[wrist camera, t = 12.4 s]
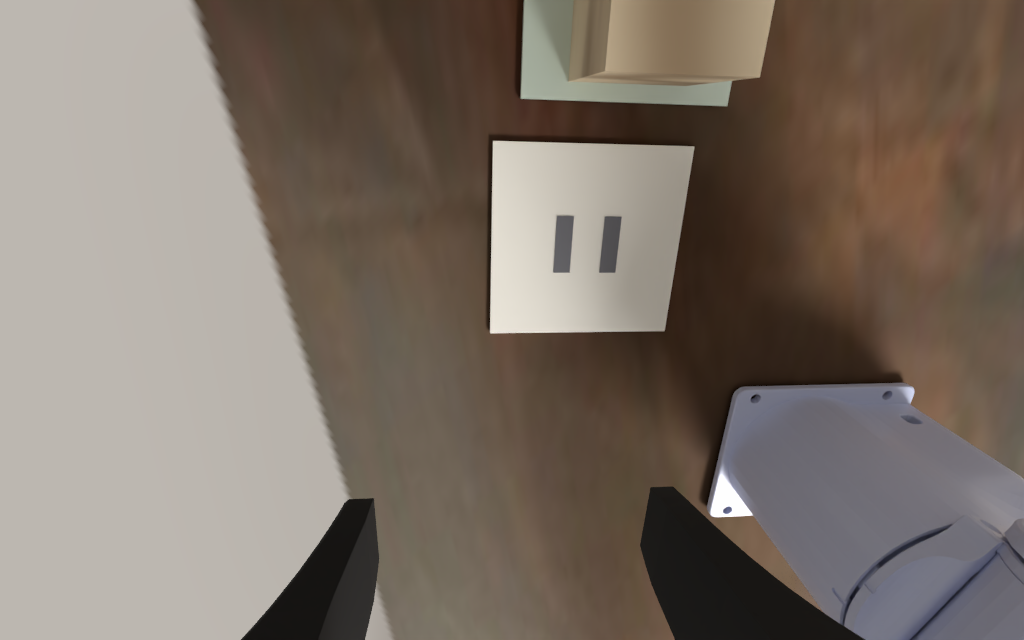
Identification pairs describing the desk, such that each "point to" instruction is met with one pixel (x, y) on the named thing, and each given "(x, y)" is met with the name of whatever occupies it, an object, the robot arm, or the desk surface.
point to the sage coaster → (550, 74)
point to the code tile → (585, 235)
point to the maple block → (668, 41)
